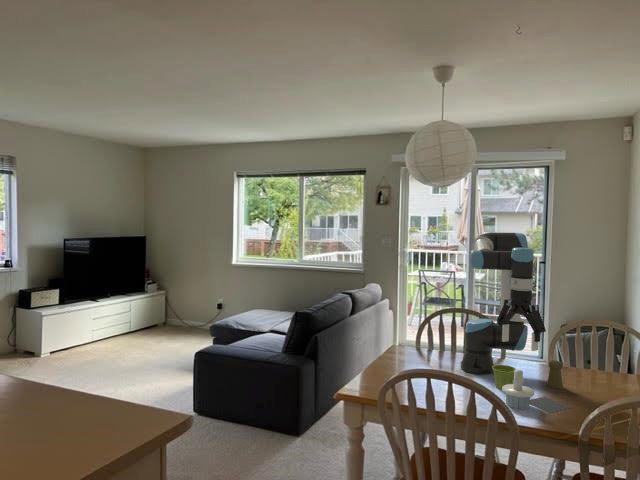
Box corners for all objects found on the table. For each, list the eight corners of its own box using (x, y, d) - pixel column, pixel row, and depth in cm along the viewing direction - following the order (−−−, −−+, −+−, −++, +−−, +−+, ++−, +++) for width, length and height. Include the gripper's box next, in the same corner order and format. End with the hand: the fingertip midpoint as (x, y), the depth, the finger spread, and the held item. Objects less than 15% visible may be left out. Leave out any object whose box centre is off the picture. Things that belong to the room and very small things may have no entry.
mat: (522, 402, 181) (522, 401, 181) (544, 397, 186) (544, 396, 186) (549, 414, 170) (550, 412, 170) (572, 408, 175) (572, 407, 175)
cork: (564, 389, 195) (565, 363, 195) (549, 388, 197) (550, 362, 196) (560, 385, 201) (561, 359, 201) (545, 383, 203) (546, 358, 202)
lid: (495, 389, 179) (496, 368, 179) (516, 385, 184) (517, 364, 184) (519, 399, 170) (519, 377, 169) (540, 394, 174) (541, 373, 174)
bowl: (501, 404, 179) (501, 390, 179) (516, 401, 182) (517, 387, 182) (518, 412, 172) (518, 397, 172) (534, 408, 175) (534, 394, 175)
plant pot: (514, 394, 189) (515, 373, 189) (489, 390, 194) (490, 369, 194) (517, 387, 198) (517, 367, 197) (493, 383, 202) (494, 363, 202)
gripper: (488, 285, 186) (487, 338, 187) (543, 295, 163) (540, 355, 164) (502, 284, 189) (501, 336, 190) (557, 293, 167) (555, 353, 168)
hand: (519, 345), depth 177 cm, fingers open, 13 cm apart
